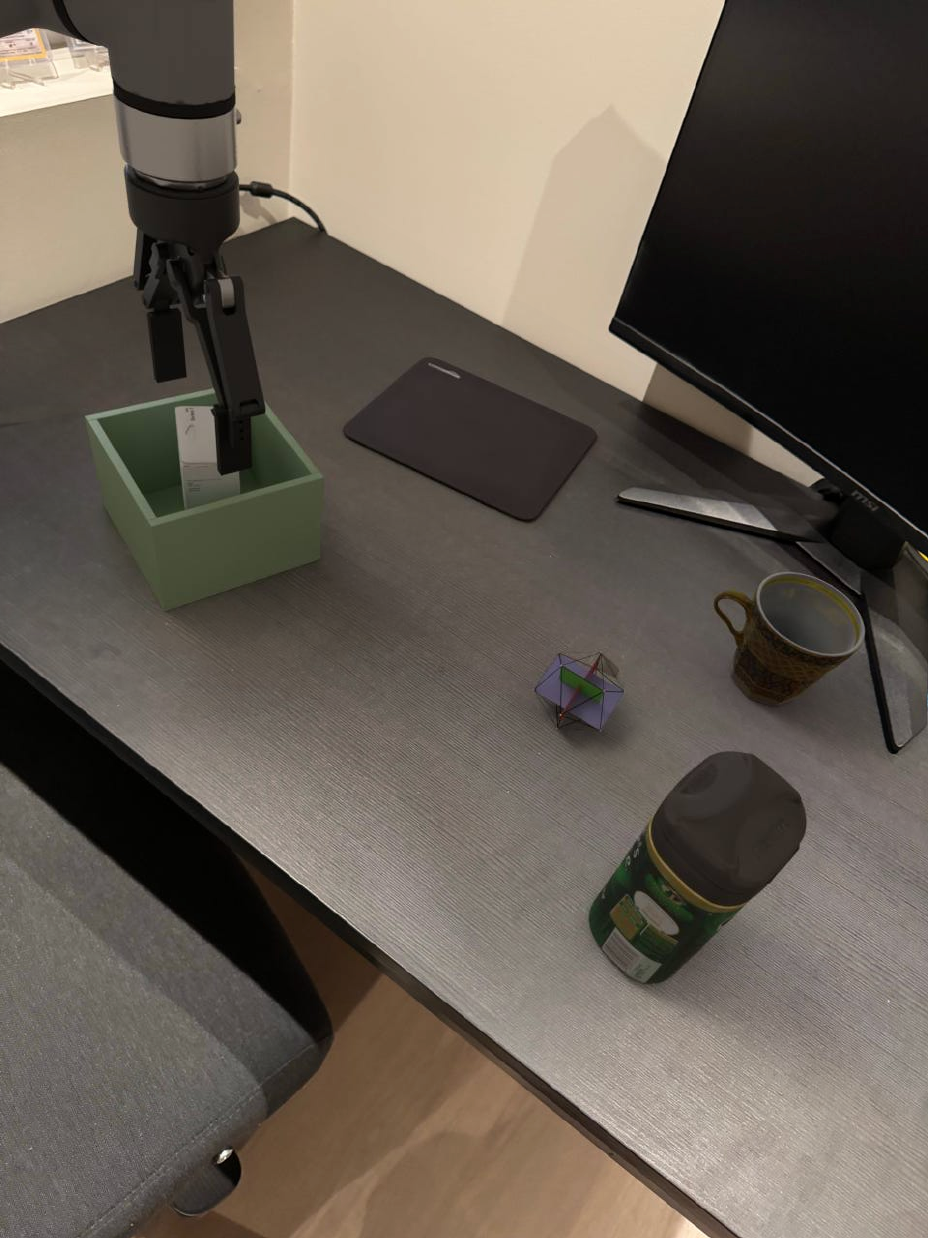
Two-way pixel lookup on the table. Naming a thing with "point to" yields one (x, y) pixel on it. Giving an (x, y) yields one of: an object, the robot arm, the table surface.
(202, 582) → the open square box
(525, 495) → the mouse pad
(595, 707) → the geometric puzzle
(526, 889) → the table surface
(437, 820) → the table surface
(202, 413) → the ink box
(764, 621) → the ceramic cup
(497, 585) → the table surface
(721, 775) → the coffee jar
